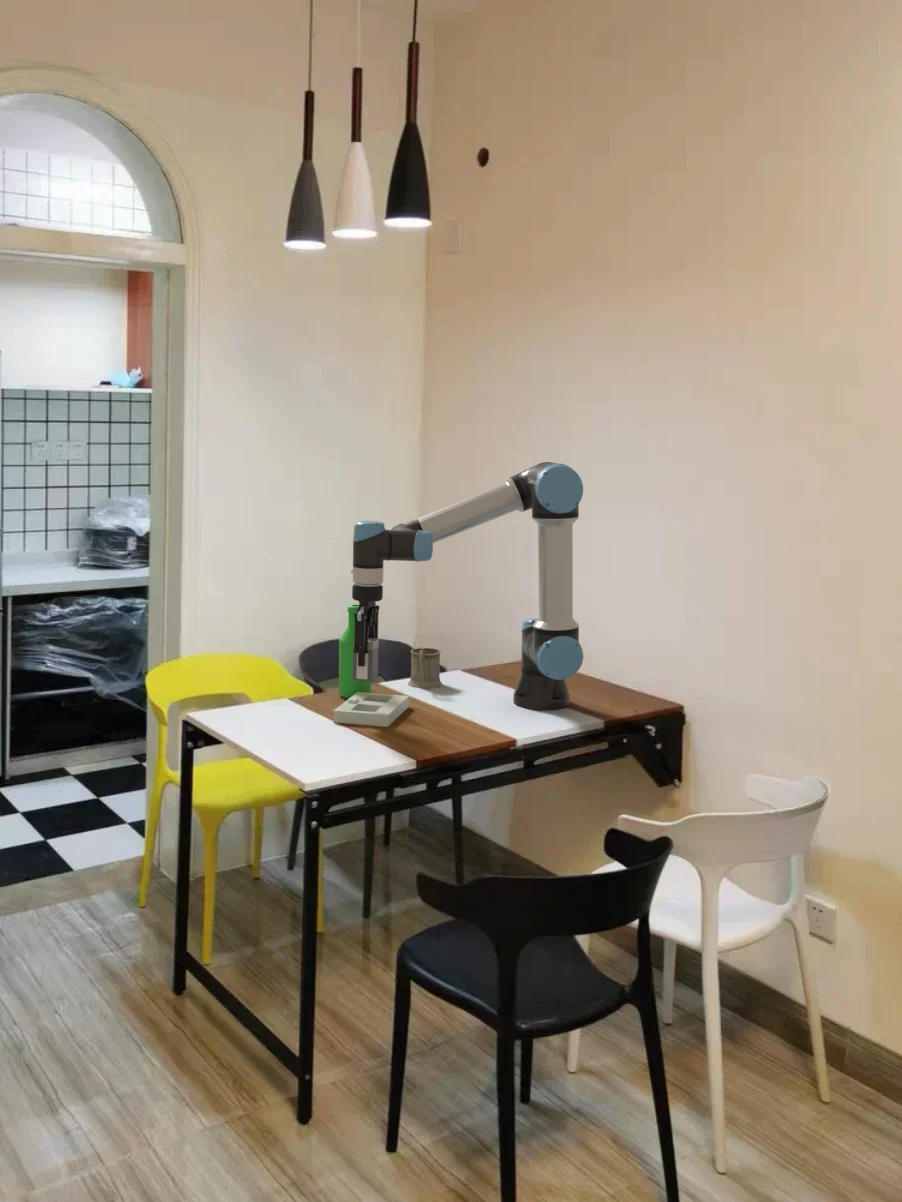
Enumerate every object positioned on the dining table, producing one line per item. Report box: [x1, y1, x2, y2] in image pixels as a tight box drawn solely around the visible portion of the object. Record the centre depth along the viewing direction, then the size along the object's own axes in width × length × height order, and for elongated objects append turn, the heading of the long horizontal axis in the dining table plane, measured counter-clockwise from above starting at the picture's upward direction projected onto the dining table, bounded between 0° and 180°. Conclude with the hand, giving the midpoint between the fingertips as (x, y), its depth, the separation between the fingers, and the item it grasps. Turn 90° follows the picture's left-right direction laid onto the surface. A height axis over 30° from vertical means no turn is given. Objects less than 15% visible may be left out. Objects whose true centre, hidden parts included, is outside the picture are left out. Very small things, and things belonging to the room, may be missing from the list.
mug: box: [407, 646, 443, 689], centre depth 320 cm, size 14×10×12 cm
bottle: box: [338, 604, 372, 700], centre depth 306 cm, size 9×9×25 cm
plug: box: [353, 637, 380, 683], centre depth 282 cm, size 5×5×10 cm
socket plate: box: [333, 692, 410, 728], centre depth 289 cm, size 14×20×4 cm
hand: (365, 675), depth 283 cm, fingers closed on plug, 5 cm apart
